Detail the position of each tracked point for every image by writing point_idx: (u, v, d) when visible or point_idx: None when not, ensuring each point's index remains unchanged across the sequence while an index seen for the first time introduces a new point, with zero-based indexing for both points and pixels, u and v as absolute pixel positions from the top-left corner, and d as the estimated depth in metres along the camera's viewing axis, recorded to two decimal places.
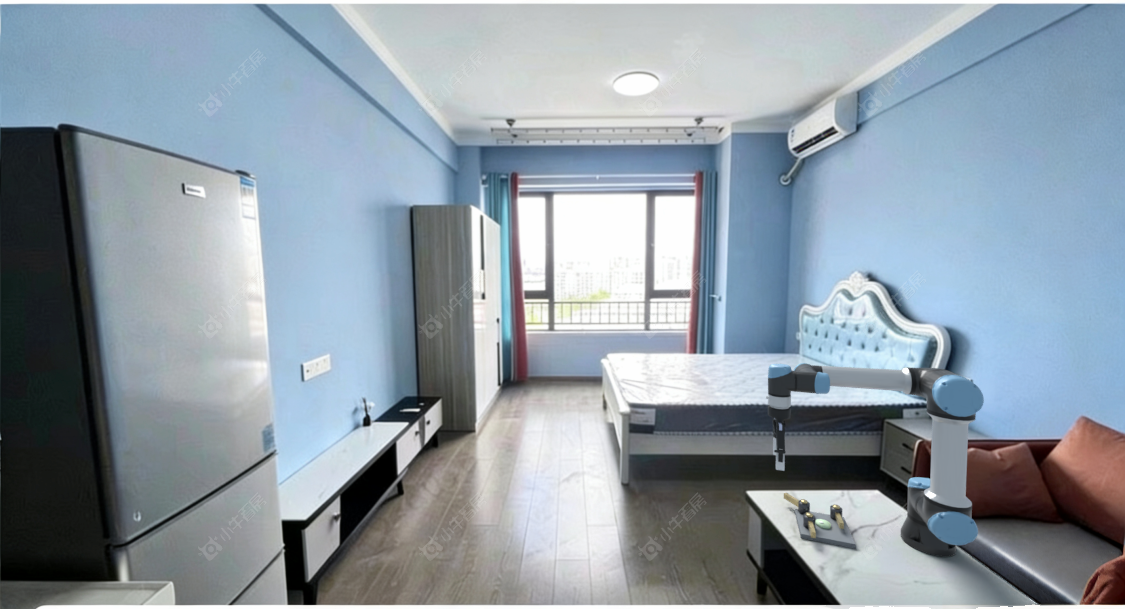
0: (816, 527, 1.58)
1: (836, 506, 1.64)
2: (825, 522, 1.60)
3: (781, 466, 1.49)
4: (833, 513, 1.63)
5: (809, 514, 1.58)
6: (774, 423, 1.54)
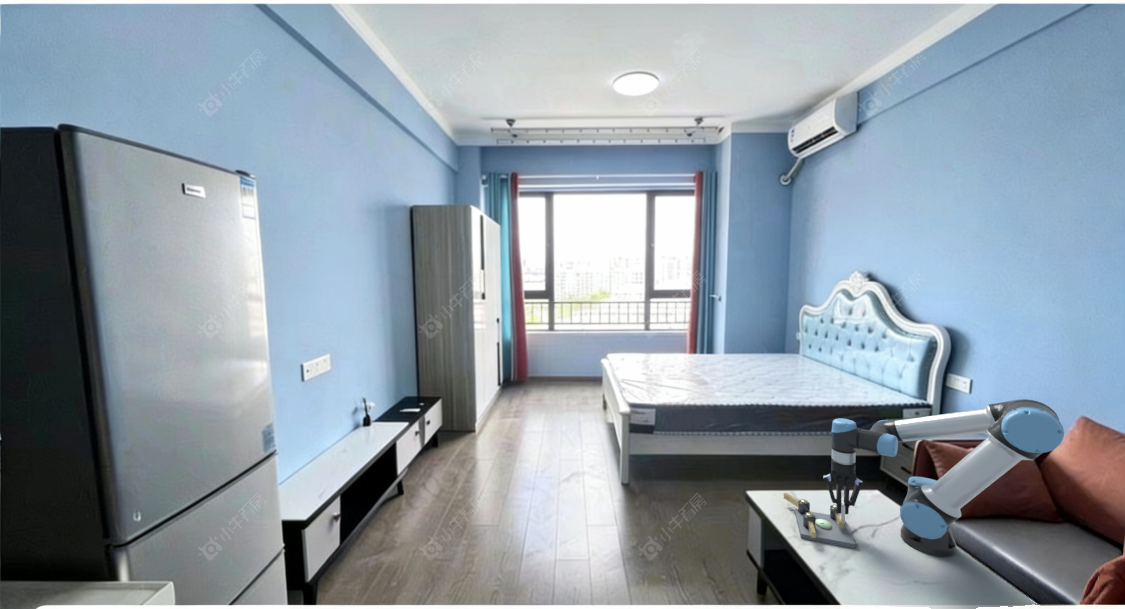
0: (816, 527, 1.58)
1: (836, 506, 1.64)
2: (825, 522, 1.60)
3: None
4: (833, 513, 1.63)
5: (809, 514, 1.58)
6: None
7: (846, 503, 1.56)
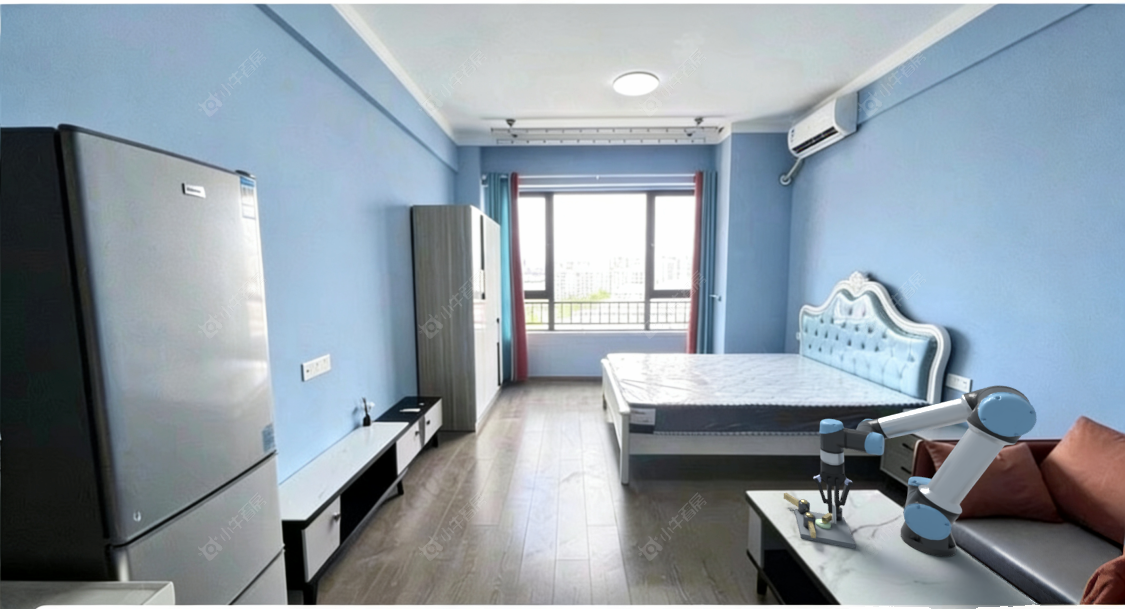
0: (816, 527, 1.58)
1: None
2: None
3: (832, 518, 1.59)
4: None
5: (809, 514, 1.58)
6: None
7: (836, 503, 1.57)
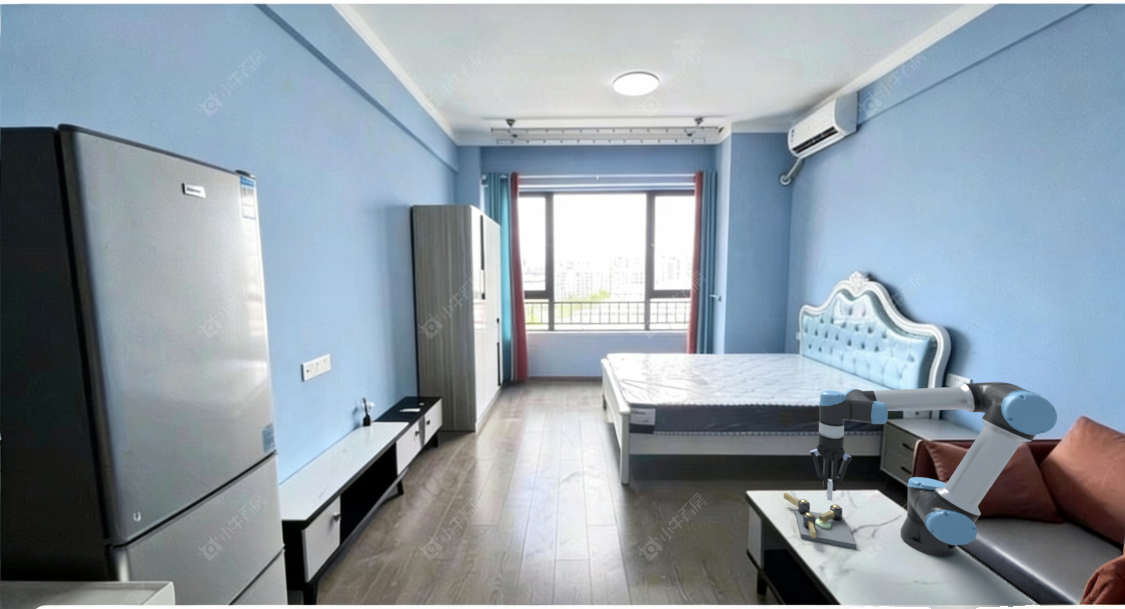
0: (816, 527, 1.58)
1: (835, 506, 1.64)
2: (825, 522, 1.60)
3: (826, 494, 1.51)
4: None
5: (809, 514, 1.58)
6: None
7: (834, 479, 1.49)
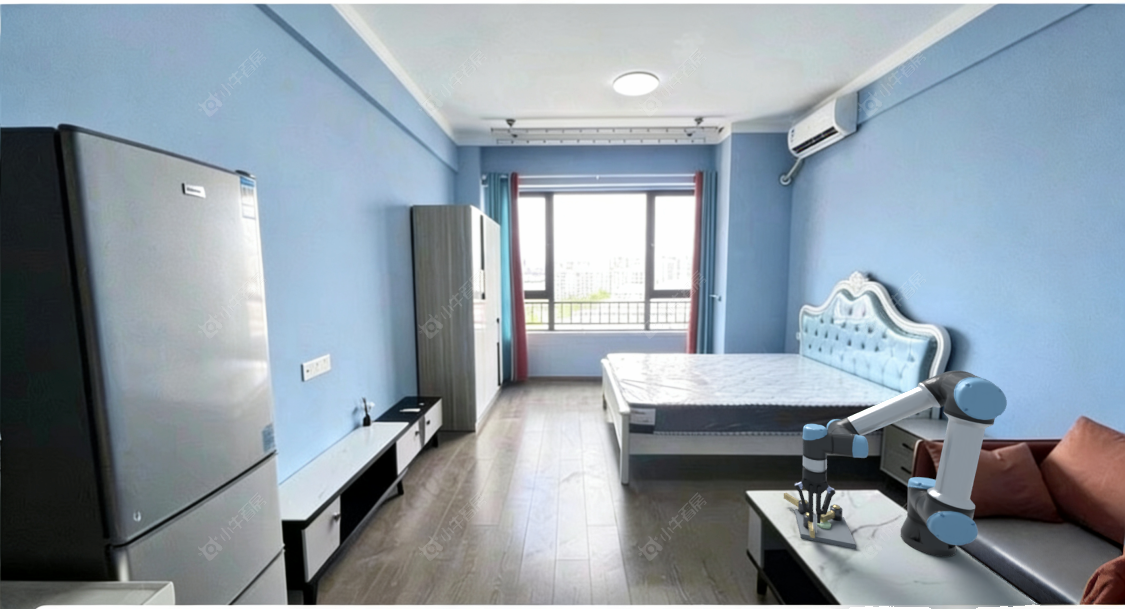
0: None
1: (835, 506, 1.64)
2: (825, 522, 1.60)
3: None
4: None
5: None
6: None
7: (818, 512, 1.51)
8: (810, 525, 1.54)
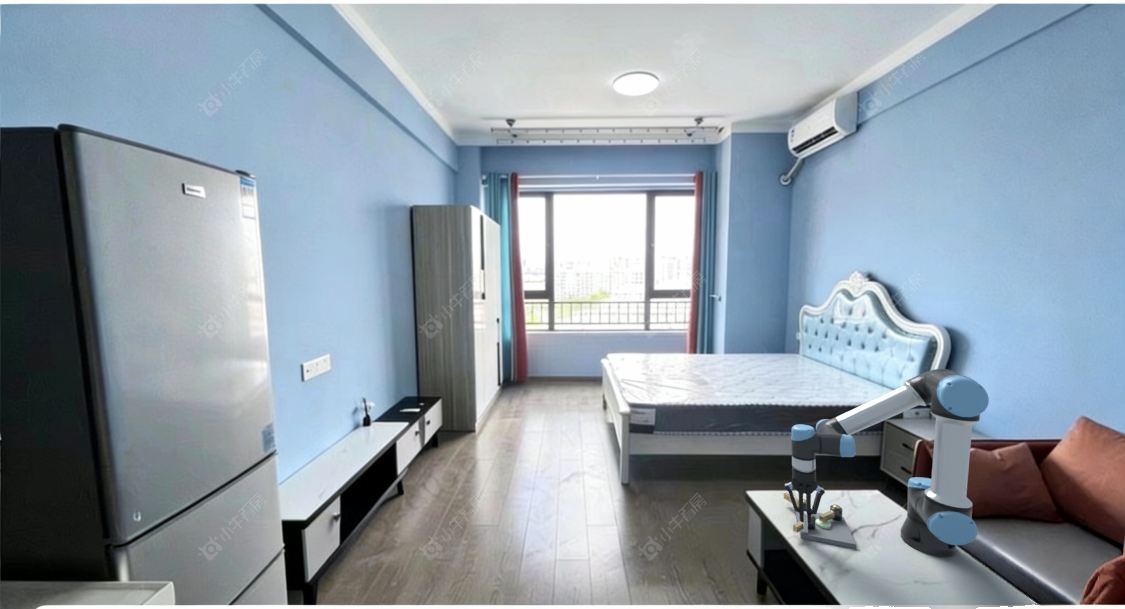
0: (816, 527, 1.58)
1: (835, 506, 1.64)
2: (825, 522, 1.60)
3: (803, 527, 1.54)
4: None
5: None
6: None
7: (808, 511, 1.52)
8: (800, 522, 1.56)
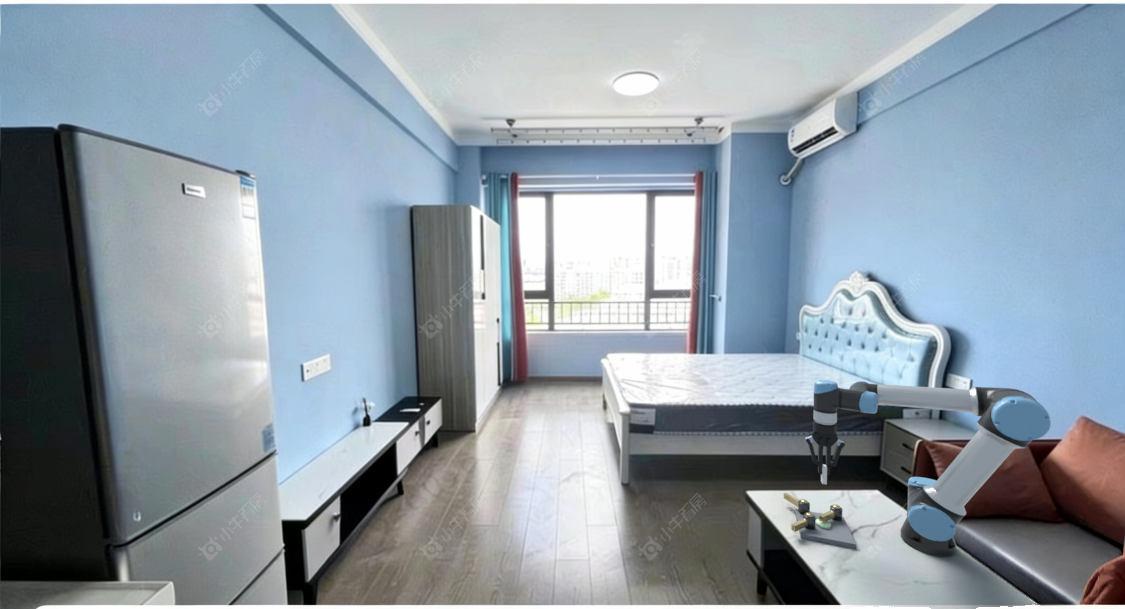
0: (816, 527, 1.58)
1: (835, 506, 1.64)
2: (825, 522, 1.60)
3: (821, 479, 1.59)
4: None
5: (808, 514, 1.59)
6: None
7: (828, 464, 1.57)
8: (799, 521, 1.57)
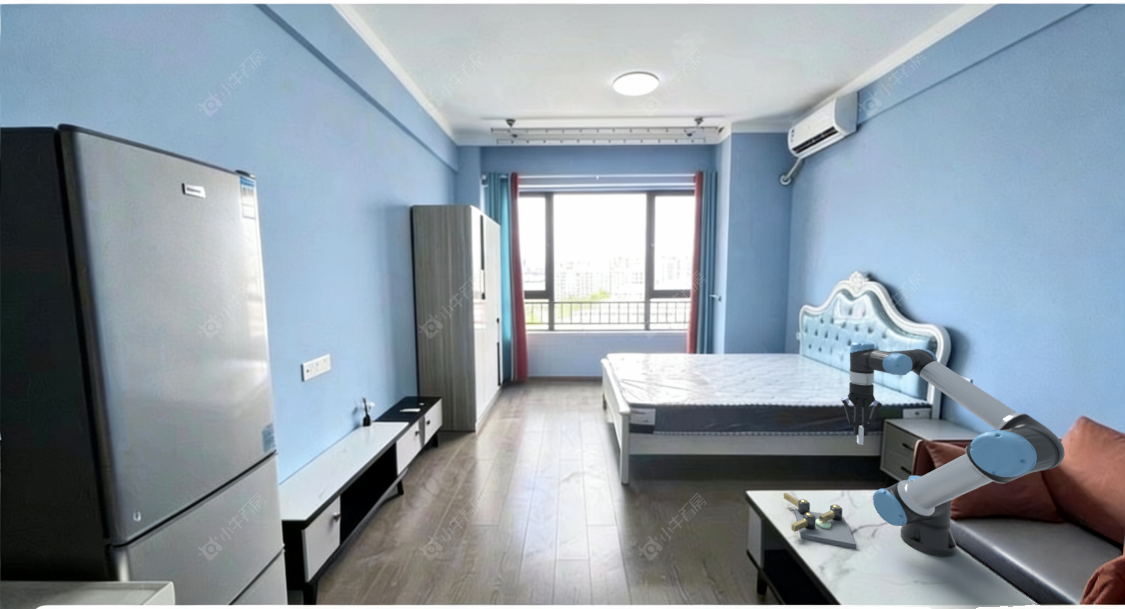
0: (816, 527, 1.58)
1: (835, 506, 1.64)
2: (825, 522, 1.60)
3: (858, 440, 1.60)
4: None
5: (808, 514, 1.59)
6: None
7: (864, 424, 1.58)
8: (799, 521, 1.57)
